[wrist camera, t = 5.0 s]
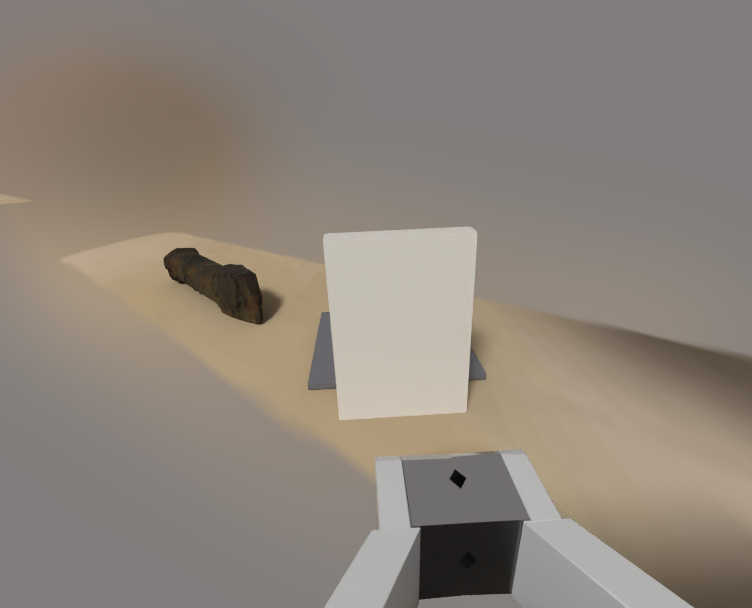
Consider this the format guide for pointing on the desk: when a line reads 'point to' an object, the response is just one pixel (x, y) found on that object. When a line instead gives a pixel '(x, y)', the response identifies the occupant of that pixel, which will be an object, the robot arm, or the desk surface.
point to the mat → (324, 359)
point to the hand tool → (218, 283)
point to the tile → (401, 320)
